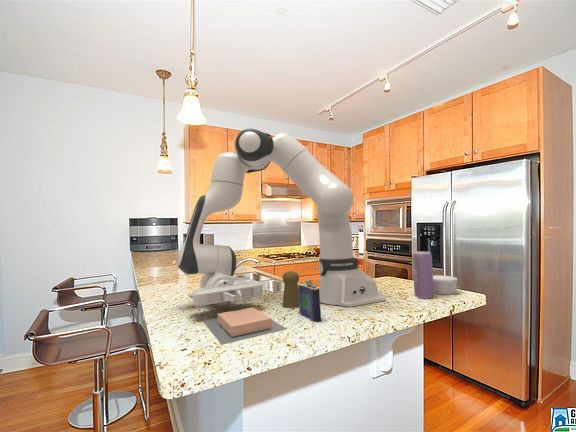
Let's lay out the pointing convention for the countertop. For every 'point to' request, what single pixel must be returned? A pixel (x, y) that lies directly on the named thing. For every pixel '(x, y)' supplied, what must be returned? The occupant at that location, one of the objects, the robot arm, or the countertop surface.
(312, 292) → the flask
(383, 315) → the countertop surface
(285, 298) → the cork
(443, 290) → the ramekin
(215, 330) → the slate board
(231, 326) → the tile
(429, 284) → the beverage can
